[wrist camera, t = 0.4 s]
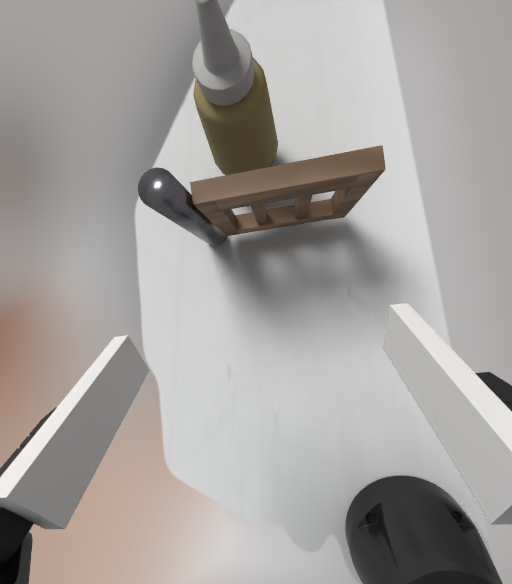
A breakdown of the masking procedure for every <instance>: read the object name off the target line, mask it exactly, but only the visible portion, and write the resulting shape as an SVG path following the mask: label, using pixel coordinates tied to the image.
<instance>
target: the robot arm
mask: <svg viewBox="0 0 512 584" xmlns="http://www.w3.org/2000/svg"><path fill="white" fill-rule="evenodd" d="M383 349H384V350H385V352H386V354H387V355H388V357H389V359H390V360H391V362H392V364H393V365H394V367H395V368H396V370H397V372H398V373H399V375H400V377H401V378H402V380H403V382H404V383H405V385H406V386H407V388H408V390H409V391H410V393H411V395H412V396H413V398H414V400H415V401H416V403H417V404H418V406H419V408H420V409H421V411H422V413H423V414H424V416H425V418H426V419H427V421H428V422H429V424H430V426H431V427H432V429H433V431H434V432H435V434H436V436H437V437H438V439H439V440H440V442H441V444H442V445H443V447H444V449H445V450H446V452H447V454H448V455H449V457H450V458H451V460H452V462H453V463H454V465H455V467H456V468H457V470H458V472H459V473H460V475H461V476H462V478H463V480H464V481H465V483H466V485H467V486H468V488H469V490H470V491H471V493H472V494H473V496H474V498H475V499H476V501H477V503H478V504H479V506H480V508H481V509H482V511H483V512H484V514H485V516H486V517H487V519H488V521H489V522H490V524H512V386H511V385H510V384H508V383H507V382H505V381H503V380H502V379H500V378H498V377H497V376H495V375H494V374H492V373H490V372H484V373H474V372H473V371H472V370H471V369H470V368H469V367H468V366H467V365H466V364H465V363H464V361H463V360H462V359H461V358H460V357H459V356H458V355H457V354H456V353H455V352H454V351H453V350H452V349H451V348H450V347H449V346H448V345H447V344H446V343H445V342H444V341H443V340H442V339H441V337H440V336H439V335H438V334H437V333H436V332H435V331H434V330H433V329H432V328H431V327H430V326H429V325H428V324H427V323H426V322H425V321H424V320H423V319H422V318H421V317H420V316H419V315H418V313H417V312H416V311H415V310H414V309H413V308H412V307H411V306H410V305H409V304H408V303H403V304H394V305H390V307H389V314H388V320H387V326H386V332H385V339H384V345H383ZM148 372H149V369H148V367H147V366H146V364H145V362H144V361H143V359H142V357H141V356H140V354H139V352H138V351H137V349H136V347H135V346H134V344H133V342H132V341H131V339H130V337H129V336H128V335H126V336H118V337H114V339H113V340H112V341H111V342H110V344H109V345H108V346H107V347H106V348H105V350H104V351H103V352H102V353H101V354H100V356H99V357H98V358H97V360H96V361H95V362H94V363H93V364H92V365H91V367H90V368H89V369H88V370H87V372H86V373H85V374H84V375H83V377H82V378H81V379H80V380H79V381H78V383H77V384H76V385H75V386H74V388H73V389H72V390H71V391H70V392H69V394H68V395H67V396H66V397H65V399H64V400H63V401H62V402H61V404H60V405H59V406H58V407H56V408H55V409H53V410H52V411H51V412H50V413H49V414H48V415H46V416H45V417H44V418H43V419H42V420H41V421H40V422H39V423H38V424H37V426H36V427H35V428H34V429H33V431H32V432H31V433H30V436H29V437H27V438H26V439H25V440H24V441H23V442H22V444H21V445H20V448H19V449H16V451H15V452H14V453H13V454H12V455H11V457H10V458H9V459H8V460H7V462H6V463H5V464H4V465H3V466H2V467H1V469H0V584H28V583H29V572H30V561H31V550H32V534H31V533H29V530H30V529H31V527H32V525H33V524H36V525H38V526H40V527H42V528H44V529H65V528H66V526H67V524H68V523H69V521H70V519H71V517H72V515H73V513H74V511H75V509H76V508H77V506H78V504H79V502H80V500H81V498H82V496H83V494H84V492H85V491H86V489H87V487H88V484H89V483H90V481H91V479H92V477H93V475H94V473H95V472H96V470H97V468H98V466H99V464H100V462H101V460H102V459H103V457H104V455H105V453H106V451H107V449H108V447H109V445H110V444H111V442H112V440H113V438H114V436H115V434H116V432H117V430H118V428H119V427H120V425H121V423H122V421H123V419H124V417H125V415H126V413H127V412H128V410H129V408H130V406H131V404H132V402H133V400H134V398H135V396H136V395H137V393H138V391H139V389H140V387H141V385H142V383H143V381H144V379H145V377H146V375H147V374H148ZM346 538H347V542H348V546H349V550H350V554H351V558H352V561H353V564H354V566H355V569H356V571H357V573H358V576H359V577H360V579H361V581H362V583H363V584H502V581H501V579H500V577H499V575H498V573H497V571H496V568H495V566H494V564H493V562H492V560H491V558H490V555H489V553H488V551H487V549H486V547H485V545H484V543H483V540H482V538H481V536H480V534H479V532H478V530H477V529H476V527H475V526H474V524H473V522H472V521H471V520H470V518H469V517H468V516H467V515H466V513H465V512H464V511H463V510H462V508H461V507H460V506H459V505H458V503H457V502H456V501H455V500H454V499H453V498H452V497H451V496H450V495H449V494H448V493H447V492H445V491H444V490H443V489H441V488H440V487H438V486H437V485H435V484H433V483H431V482H428V481H426V480H423V479H420V478H416V477H410V476H392V477H386V478H383V479H380V480H377V481H375V482H373V483H371V484H369V485H368V486H366V487H365V488H364V489H363V490H361V491H360V492H359V494H358V495H357V496H356V497H355V498H354V500H353V502H352V503H351V505H350V508H349V510H348V513H347V517H346Z"/></svg>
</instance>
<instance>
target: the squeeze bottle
mask: <svg viewBox="0 0 512 584" xmlns="http://www.w3.org/2000/svg"><path fill="white" fill-rule="evenodd" d="M196 7H197V14H198V22H199V30H200V37H201V41H200V42H199V44H198V46H197V48H196V50H195V52H194V55H193V63H192V67H193V71H194V75H195V78H196V81H195V88H194V99H195V103H196V107H197V111H198V114H199V116H200V119H201V122H202V125H203V128H204V131H205V134H206V137H207V140H208V143H209V146H210V149H211V152H212V155H213V157H214V160H215V163H216V165H217V166H218V167H219V169H220V170H221V171H222V173H223V174H225V175H231V174H236V173H241V172H246V171H252V170H257V169H262V168H267V167H270V166H271V165H272V163H273V161H274V159H275V157H276V153H277V147H278V141H277V135H276V130H275V125H274V119H273V114H272V109H271V104H270V98H269V93H268V88H267V83H266V79H265V75H264V71H263V69H262V68H261V66H260V65H259V64H258V63H257V61H256V60H255V59H254V58H252V53H251V49H250V45H249V43H248V41H247V40H246V39H245V38H244V36H243V35H242V34H240V33H238V32H236V31H234V30H232V29H229V28H228V25H227V23H226V20H225V18H224V16H223V13H222V11H221V8H220V6H219V3H218V1H217V0H196Z"/></svg>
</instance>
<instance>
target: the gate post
mask: <svg viewBox="0 0 512 584" xmlns="http://www.w3.org/2000/svg"><path fill="white" fill-rule="evenodd" d="M138 192H139V196H140V198H141V200H142V201H143V203H145V204H146V205H147V206H149V207H150V208H152V209H154V210H155V211H157V212H158V213H160V214H162V215H163V216H165V217H167V218H168V219H170V220H171V221H173V222H175V223H176V224H178V225H179V226H181V227H183V228H184V229H186V230H187V231H189V232H191V233H192V234H194V235H195V236H197V237H199V238H200V239H202V240H203V241H205V242H207V243H208V244H210V245H212V246H218V245H221V244H222V243H223V242H224V240H225V237H226V235H225V234H224V233H223V232H222V231H221V230H220V229H219V228H217V227H216V226H215V225H214V224H213V223H212V222H211V221H210V220H209V219H208V218H207V217H206V216H205V215H204V214H203V213H202V212H201V211H200V210H199V209H198V208H197V207H196V206H195V205H193V200H192V195H191V194H190V193H189V192H188V191H187V190H186V189H185V188H184V187H183V186H182V185H181V184H180V183H179V182H178V180H177V179H176V178H175V177H174V176H173V175H172V174H171V173H170V172H169V171H167V170H165V169H163V168H153V169H150V170H148V171H147V172H146V173H144V175H143V176H142V178H141V179H140V181H139V185H138Z"/></svg>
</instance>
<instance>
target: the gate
mask: <svg viewBox="0 0 512 584" xmlns="http://www.w3.org/2000/svg"><path fill="white" fill-rule="evenodd" d="M384 170H385V161H384V154H383V146H382V145H381V146H376V147H371V148H366V149H361V150H355V151H350V152H345V153H340V154H335V155H329V156H324V157H319V158H314V159H309V160H304V161H298V162H293V163H288V164H283V165H278V166H272V167H267V168H262V169H257V170H252V171H246V172H241V173H236V174H231V175H226V176H221V177H215V178H210V179H205V180H200V181H195V182H190V184H191V192H192V200H193V205H195V206H196V207H197V208H198V209H199V210H200V211H201V212H202V213H203V214H204V215H205V216H206V217H207V218H208V219H209V220H210V221H211V222H212V223H213V224H214V225H215V226H216V227H217V228H219V229H220V230H221V231H222V232H223V233H224V234H225V235H226V236H230V235H237V234H241V233H248V232H254V231H260V230H266V229H273V228H279V227H285V226H291V225H297V224H304V223H310V222H316V221H322V220H328V219H336V218H342V217H345V216H346V215H347V214H348V213H349V211H350V210H351V209H352V208H353V207H354V206H355V204H356V203H357V202H358V201H359V200H360V199H361V197H362V196H363V195H364V194H365V193H366V192H367V190H368V189H369V188H370V187H371V186H372V185H373V183H374V182H375V181H376V180H377V179H378V178H379V176H380V175H381V174H382V173H383V172H384ZM331 191H335V193H334V195H333V196H332V198H331V199H329V200H323V201H317V202H311V203H310V201H311V198H312V195H314V194H319V193H325V192H331ZM291 198H295V205H294V206H288V207H282V208H276V209H270V210H266V208H265V204H264V203H268V202H274V201H279V200H285V199H291ZM245 206H251V208H252V210H253V213H247V214H241V215H234V213H233V211H232V210H231V209H234V208H239V207H245Z"/></svg>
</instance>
